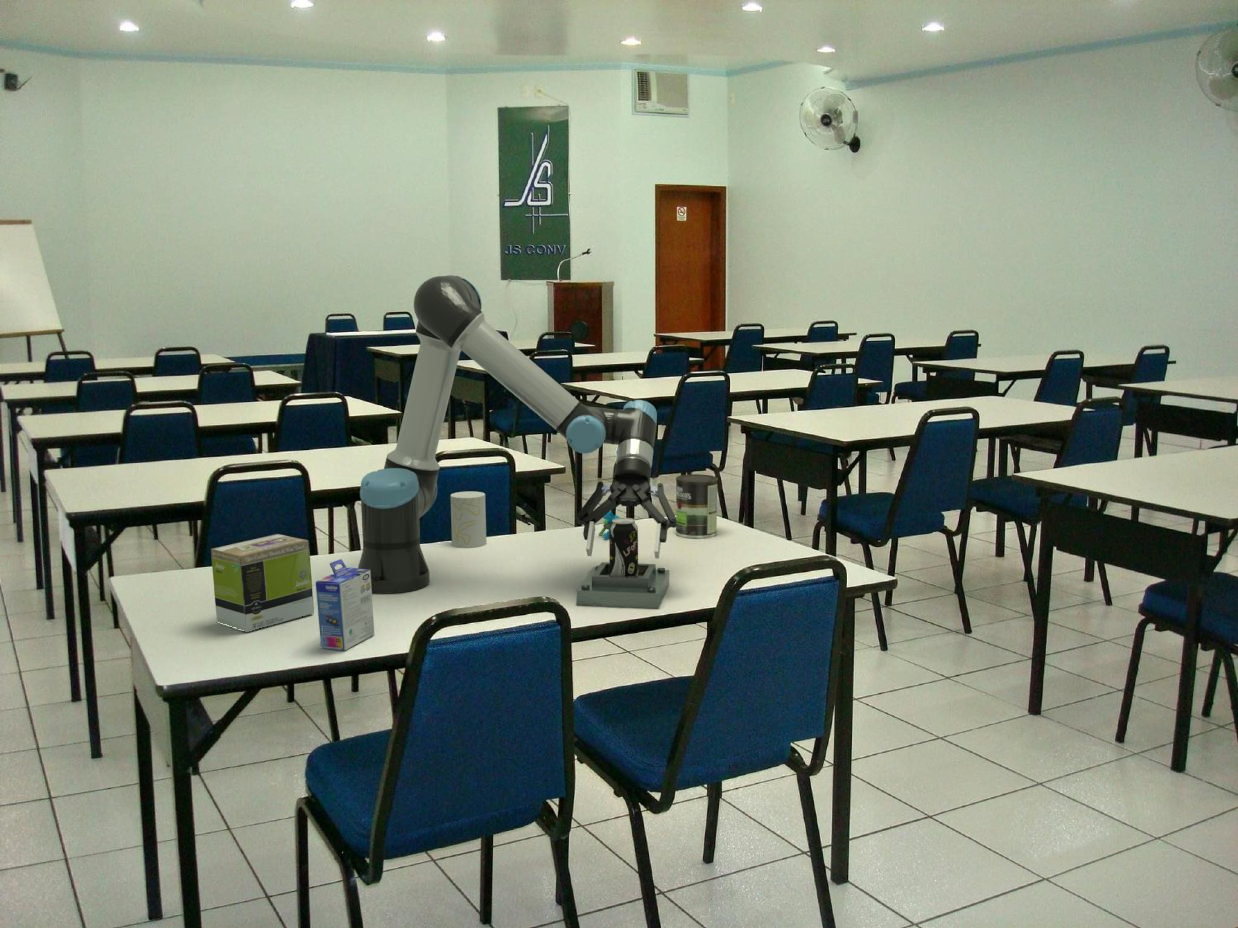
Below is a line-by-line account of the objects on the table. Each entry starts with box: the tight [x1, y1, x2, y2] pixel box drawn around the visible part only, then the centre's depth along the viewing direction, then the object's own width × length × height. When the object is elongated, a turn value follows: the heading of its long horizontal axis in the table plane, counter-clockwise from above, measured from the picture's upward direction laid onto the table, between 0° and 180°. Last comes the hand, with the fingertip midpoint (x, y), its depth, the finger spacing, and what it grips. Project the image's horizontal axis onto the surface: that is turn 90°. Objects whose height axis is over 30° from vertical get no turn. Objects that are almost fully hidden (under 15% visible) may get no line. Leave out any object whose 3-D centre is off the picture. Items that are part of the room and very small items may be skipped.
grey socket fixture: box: [576, 561, 670, 610], centre depth 232 cm, size 18×16×5 cm
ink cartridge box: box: [315, 558, 375, 652], centre depth 203 cm, size 10×6×14 cm, turn 160°
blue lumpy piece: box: [598, 510, 620, 540], centre depth 281 cm, size 11×6×10 cm
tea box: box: [210, 533, 315, 633], centre depth 216 cm, size 15×10×15 cm
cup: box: [450, 490, 487, 549], centre depth 276 cm, size 8×8×12 cm
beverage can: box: [608, 517, 639, 576], centre depth 231 cm, size 6×6×12 cm
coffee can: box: [675, 473, 719, 540], centre depth 285 cm, size 10×10×14 cm
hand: (622, 554), depth 229 cm, fingers open, 13 cm apart
